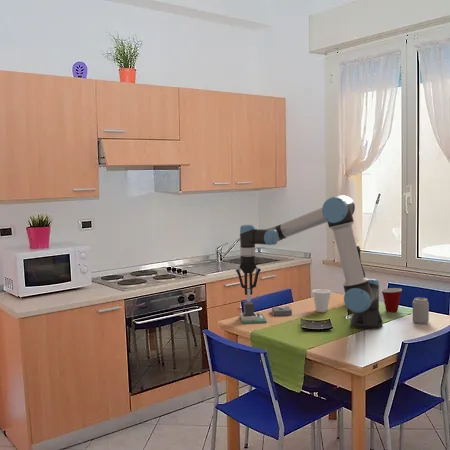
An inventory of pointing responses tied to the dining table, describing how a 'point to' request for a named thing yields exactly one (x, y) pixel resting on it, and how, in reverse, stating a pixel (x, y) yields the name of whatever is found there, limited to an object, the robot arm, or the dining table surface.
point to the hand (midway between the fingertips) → (248, 300)
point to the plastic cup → (391, 299)
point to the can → (420, 310)
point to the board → (253, 318)
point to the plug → (248, 309)
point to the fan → (281, 311)
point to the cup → (321, 299)
